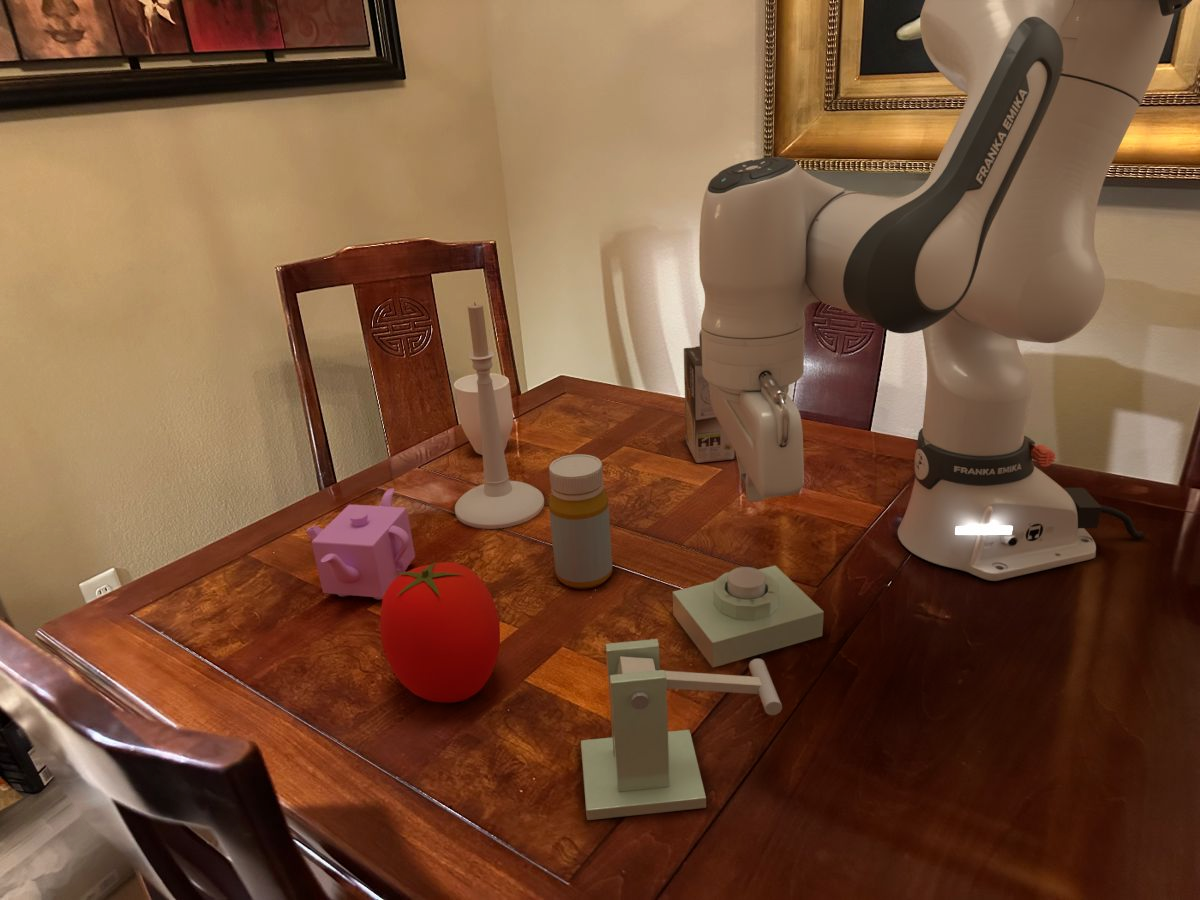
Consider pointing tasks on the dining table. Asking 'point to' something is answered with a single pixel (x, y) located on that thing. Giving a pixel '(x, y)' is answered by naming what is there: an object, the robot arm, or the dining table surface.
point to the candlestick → (493, 453)
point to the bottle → (580, 521)
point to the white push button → (746, 583)
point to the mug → (470, 407)
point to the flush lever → (714, 681)
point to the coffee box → (702, 414)
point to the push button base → (746, 618)
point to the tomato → (440, 631)
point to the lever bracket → (639, 746)
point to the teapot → (363, 549)
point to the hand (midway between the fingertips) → (752, 494)
